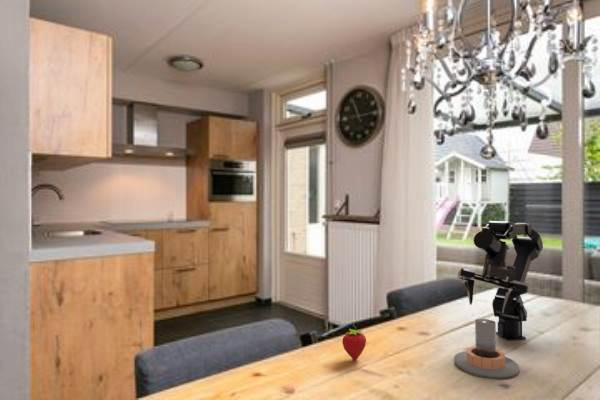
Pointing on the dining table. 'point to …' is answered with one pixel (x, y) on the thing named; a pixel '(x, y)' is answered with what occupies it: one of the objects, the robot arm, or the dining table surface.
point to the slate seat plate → (487, 372)
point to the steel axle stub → (485, 338)
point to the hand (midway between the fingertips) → (486, 309)
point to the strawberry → (354, 343)
